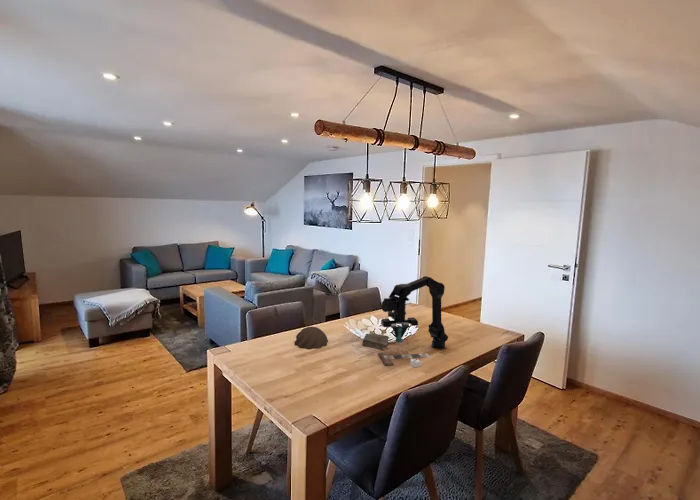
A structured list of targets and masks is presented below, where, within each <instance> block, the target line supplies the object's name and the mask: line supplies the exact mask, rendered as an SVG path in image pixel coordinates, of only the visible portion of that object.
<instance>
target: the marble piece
mask: <svg viewBox="0 0 700 500" xmlns="http://www.w3.org/2000/svg"><path fill="white" fill-rule="evenodd" d="M388 339H390V337H389V336H388V335H385V334H378V333H365V335H364V337H363V339H362V343H361V344H362V346H364V347H366V348H370V349H375V350H379V351H385V349H387V347H388V344H389V340H388Z"/></svg>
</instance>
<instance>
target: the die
mask: <svg viewBox="0 0 700 500" xmlns="http://www.w3.org/2000/svg"><path fill="white" fill-rule="evenodd" d="M409 359H410V360H409V365H410V366H411V367H412V368H420V367H421V360H419V358H409Z"/></svg>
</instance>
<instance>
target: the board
mask: <svg viewBox="0 0 700 500" xmlns="http://www.w3.org/2000/svg"><path fill="white" fill-rule="evenodd" d="M377 355H378V357H379V358H380V360H381V362H382V363H383V365H384V366H385V367H392V366H393V367H394V366H395V364H394V362H393V360H401V359H419V358H430V357H431V356H430V355H429V353H411V354H408V353H407V354H393V355H392V354H391V355H388V354H387V353H386V351H385V352H378V353H377Z"/></svg>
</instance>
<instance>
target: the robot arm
mask: <svg viewBox="0 0 700 500" xmlns="http://www.w3.org/2000/svg"><path fill="white" fill-rule="evenodd" d="M423 287H427V288H428V290H429V294H430V295H431V298H432V299H431V305H432V306H431V310H432V311H431V312H432V314H431V316H432V317H431V318H432V320H431V323H430V324H428V330H427V331H428V332H429V333H428V334H429V335H430V338H432V341H431V347H432V348H433V349H437V350H442V349H445V348H446V341H448V339H449V336H448V334H447V333H446V331H445V327H444V324H443V323H442V298H443V296H444V294H445V290H446V289H445V284H444V283H442V282H439V281H436V280H435V279H434V278H432V277H430V276H428V275H427V276H426V275H424V276H423V277H420V278H418V279H416V280H414V281H413V280H412V281H411V282H408V283H400V284H399V283H398V284H396V285H394V287H393V289H392V291H391V292H390V294H389V295H388V298H386V297H384V298H383V300H382V301H381V304H380V308H381V311H382V312H383V313H387V317H388V318H382V319H381V321H380V325H381V326H382V327H384V328H391V329H392V330H393V333H394V337H395V339H396V338H397V326H398V325H400V326H401V327H402V335H401V339H403V337H404V336H405V333H406V332H407V330H408V328H409V329H410V327H411V326H412V327H413V326H414V327H417V326H418V325H419V321H418V320H417V318H415V317H407V319H406V314H407V312H406V309H407V308H406V303H407V302H408V301H410V298H408V296H410V295H411V293H412V292H415V291H417V290H419V289H421V288H423ZM406 301H407V302H406ZM389 318H391V319H392V320H390V319H389ZM410 325H411V326H410Z"/></svg>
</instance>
